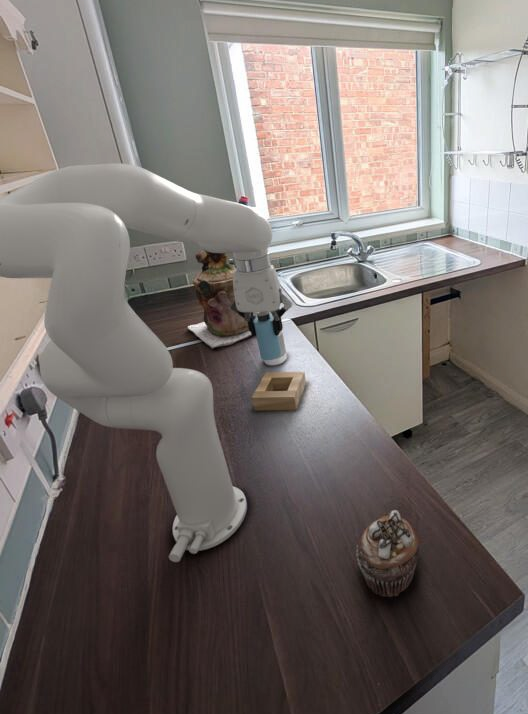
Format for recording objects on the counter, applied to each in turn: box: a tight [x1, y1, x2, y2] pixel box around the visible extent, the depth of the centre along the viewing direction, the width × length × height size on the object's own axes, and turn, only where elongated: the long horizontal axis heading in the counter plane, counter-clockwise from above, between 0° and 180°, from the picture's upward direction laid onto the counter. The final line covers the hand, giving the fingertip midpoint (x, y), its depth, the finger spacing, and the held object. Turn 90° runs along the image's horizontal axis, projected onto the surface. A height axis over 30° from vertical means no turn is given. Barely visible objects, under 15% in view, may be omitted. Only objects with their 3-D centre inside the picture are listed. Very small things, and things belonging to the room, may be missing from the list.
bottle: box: [253, 312, 281, 361], centre depth 98 cm, size 5×5×12 cm
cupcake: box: [355, 509, 420, 598], centre depth 61 cm, size 10×10×10 cm
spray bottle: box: [263, 312, 288, 366], centre depth 119 cm, size 7×7×18 cm
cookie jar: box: [187, 249, 259, 350], centre depth 138 cm, size 25×25×32 cm
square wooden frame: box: [251, 371, 307, 412], centre depth 105 cm, size 11×11×4 cm
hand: (266, 332), depth 98 cm, fingers closed on bottle, 5 cm apart
